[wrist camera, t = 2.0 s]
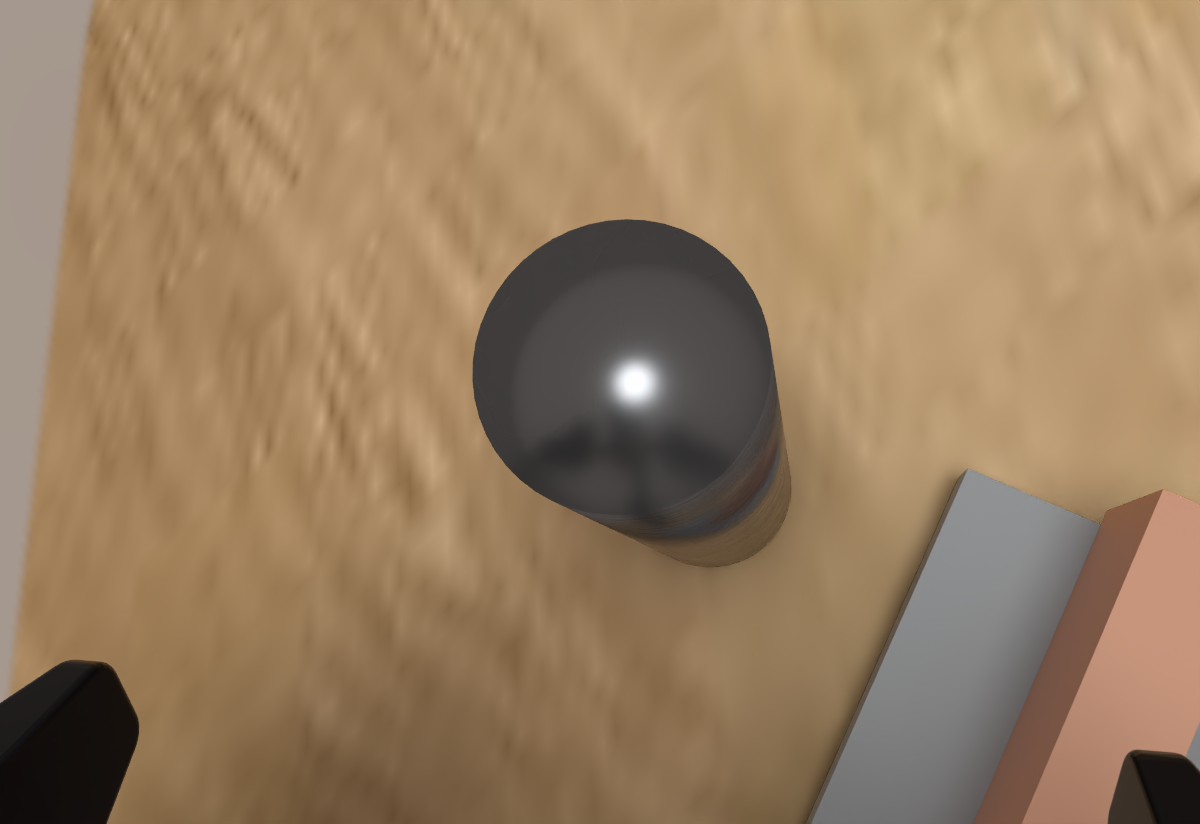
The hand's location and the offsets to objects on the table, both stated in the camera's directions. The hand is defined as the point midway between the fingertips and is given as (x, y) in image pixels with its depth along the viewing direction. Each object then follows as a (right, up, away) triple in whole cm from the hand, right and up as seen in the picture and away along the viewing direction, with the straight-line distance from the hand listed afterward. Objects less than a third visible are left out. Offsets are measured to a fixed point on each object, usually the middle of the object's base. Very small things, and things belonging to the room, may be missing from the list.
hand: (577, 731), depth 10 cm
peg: (+2, +1, +11) cm, 11 cm away
